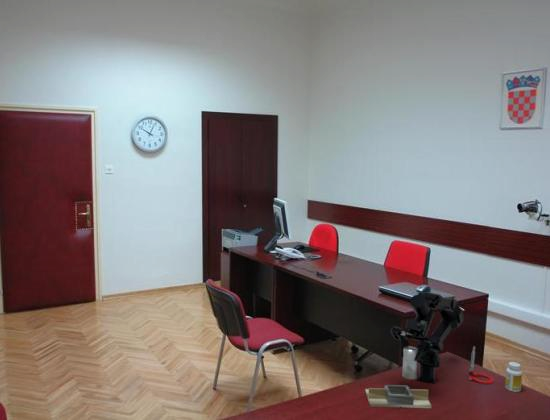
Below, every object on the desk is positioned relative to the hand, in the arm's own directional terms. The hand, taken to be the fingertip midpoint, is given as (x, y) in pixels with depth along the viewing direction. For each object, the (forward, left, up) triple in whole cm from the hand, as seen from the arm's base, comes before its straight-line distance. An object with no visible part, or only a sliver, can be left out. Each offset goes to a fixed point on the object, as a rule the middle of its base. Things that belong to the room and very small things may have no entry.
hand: (408, 358), depth 176 cm
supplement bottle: (-20, +37, -14) cm, 44 cm away
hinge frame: (+6, -3, -13) cm, 15 cm away
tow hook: (-24, +26, -14) cm, 38 cm away
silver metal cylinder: (-1, 0, -7) cm, 7 cm away
